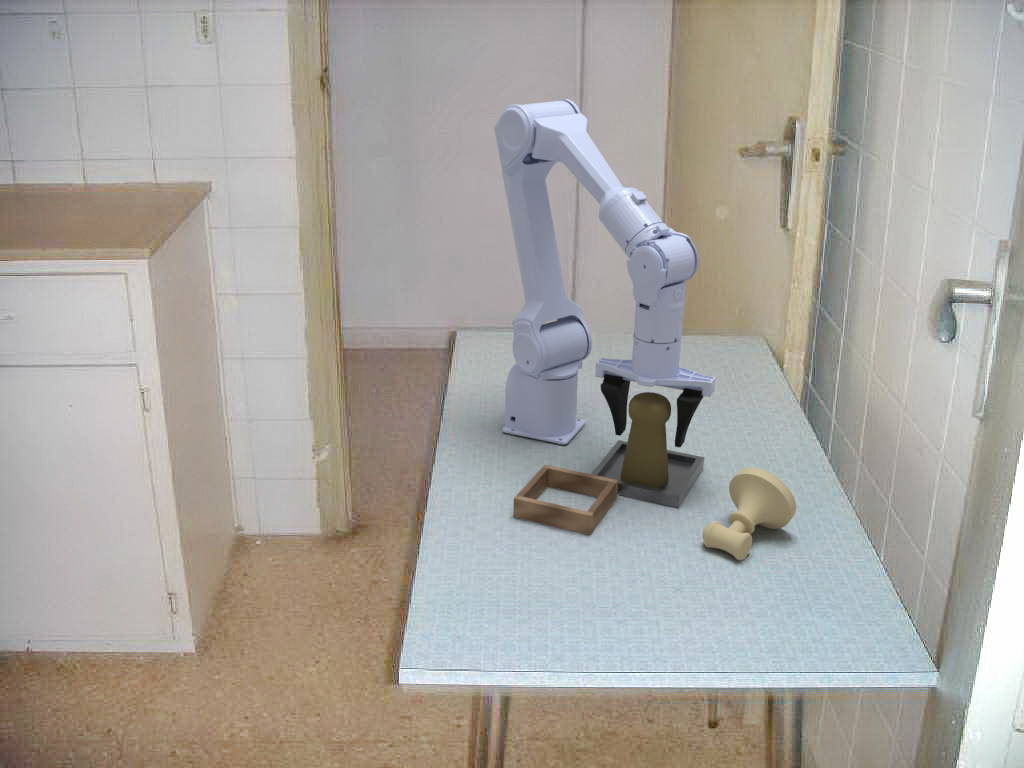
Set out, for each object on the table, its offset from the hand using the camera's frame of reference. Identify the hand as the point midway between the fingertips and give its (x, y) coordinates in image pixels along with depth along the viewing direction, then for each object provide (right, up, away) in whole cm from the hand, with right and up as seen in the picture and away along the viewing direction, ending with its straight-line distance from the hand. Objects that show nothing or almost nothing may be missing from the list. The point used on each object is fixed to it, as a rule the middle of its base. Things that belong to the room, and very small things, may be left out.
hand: (649, 438), depth 135 cm
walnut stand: (-11, -8, -5) cm, 14 cm away
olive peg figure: (-1, -5, +1) cm, 5 cm away
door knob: (+9, -11, -11) cm, 18 cm away
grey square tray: (0, -5, +2) cm, 6 cm away
